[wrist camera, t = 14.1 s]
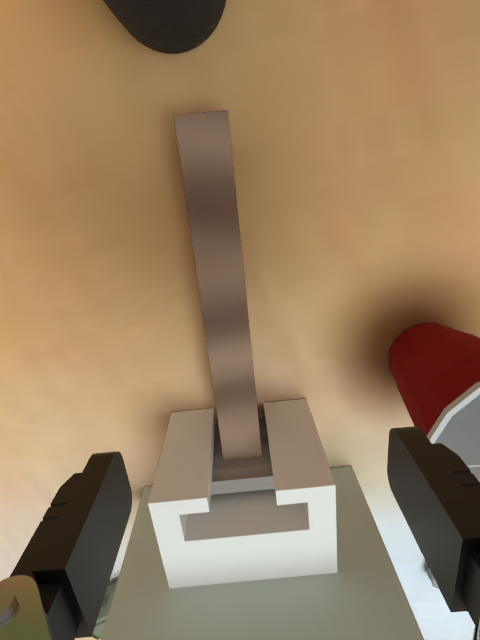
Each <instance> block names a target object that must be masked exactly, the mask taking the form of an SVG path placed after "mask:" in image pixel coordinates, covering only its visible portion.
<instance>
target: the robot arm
mask: <svg viewBox="0 0 480 640" xmlns="http://www.w3.org/2000/svg"><path fill="white" fill-rule="evenodd" d="M387 473H388V480H389V484H390V487H391V490H392V492H393V495H394V497H395V499H396V501H397V503H398V505H399V507H400V509H401V511H402V513H403V515H404V517H405V519H406V521H407V523H408V525H409V527H410V529H411V531H412V534H413V536H414V538H415V540H416V542H417V544H418V546H419V548H420V550H421V552H422V554H423V556H424V558H425V560H426V562H427V564H428V566H429V568H430V570H431V572H432V574H433V577H434V579H435V581H436V583H437V585H438V587H439V589H440V591H441V593H442V595H443V597H444V599H445V601H446V603H447V605H448V607H449V609H450V611H451V612H460V611H468V612H469V614H470V616H471V618H472V620H473V622H474V624H475V629H474V634H473V640H480V482H479V480H478V479H477V478H476V477H475V475H474V474H473V473H471V471H470V469H469V468H468V466H467V465H466V464H465V463H464V461H463V460H462V459H461V458H460V456H459V455H458V454H456V453H455V452H453V451H452V450H450V449H449V448H448V447H446V446H445V445H443V444H442V443H435V444H432V443H431V442H430V441H429V439H428V438H427V436H426V435H425V434H424V432H423V431H422V430H421V428H420V427H418V426H415V427H403V428H392V429H391V430H390V433H389V447H388V465H387ZM131 506H132V492H131V487H130V484H129V480H128V476H127V473H126V469H125V465H124V461H123V458H122V455H121V453H120V452H107V453H96V454H93V455H92V456H91V457H90V459H89V461H88V463H87V464H86V466H85V468H84V470H83V472H82V473H75V474H73V475H72V476H71V477H70V478H69V479H68V480H67V481H66V482H65V483H64V484H63V485H62V486H61V487H60V488H59V490H58V492H57V494H56V495H55V497H54V499H53V501H52V503H51V507H49V508H48V510H47V512H46V513H45V515H44V517H43V521H41V522H40V524H39V526H38V528H37V529H36V531H35V533H34V535H33V536H32V538H31V540H30V542H29V544H28V545H27V547H26V549H25V551H24V553H23V554H22V556H21V558H20V560H19V561H18V563H17V565H16V567H15V569H14V570H13V572H12V574H11V575H10V577H9V578H6V579H4V580H2V581H0V640H74V639H75V638H81V637H92V634H93V631H94V628H95V625H96V621H97V618H98V615H99V612H100V608H101V605H102V602H103V599H104V596H105V592H106V589H107V586H108V583H109V580H110V576H111V573H112V570H113V567H114V564H115V560H116V557H117V554H118V551H119V548H120V544H121V541H122V538H123V535H124V532H125V528H126V525H127V522H128V519H129V515H130V512H131Z"/></svg>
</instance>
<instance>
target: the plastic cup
mask: <svg viewBox="0 0 480 640" xmlns="http://www.w3.org/2000/svg"><path fill="white" fill-rule="evenodd" d="M389 365H390V370H391V372H392V374H393V376H394V379H395V381H396V383H397V387H398V390H399V392H400V394H401V396H402V399H403V401H404V403H405V405H406V408H407V410H408V412H409V414H410V417H411V419H412V421H413V423H414V426H418V427H420V428H421V430H422V431H423V432H424V434H425V435H426V436H427V438H428V439H429V441H430V442H431V443H432V444H435V443H442V444H443V445H445V446H446V447H448V448H449V449H450V450H452V451H453V452H455V453H456V454H458V455H459V456H460V458H461V459H462V460H463V461H464V463H465V464H466V465H467V466H468V468H469V469H470V471H471V473H473V474H474V475H475V477H476V478H477V479H478V480H479V482H480V338H479V337H476V336H474V335H471V334H467V333H464V332H460V331H457V330H455V329H452V328H449V327H446V326H443V325H439V324H433V323H426V324H417V325H415V326H413V327H411V328H409V329H407V330H405V331H404V332H403V333H402V334H401V335H400V336H399V337H397V338H396V339H395V341H394V343H393V345H392V347H391V349H390V351H389Z"/></svg>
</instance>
